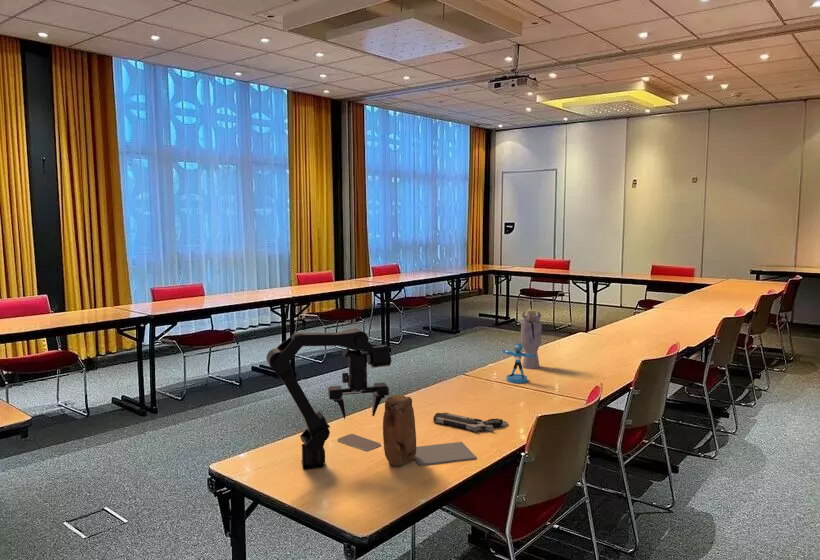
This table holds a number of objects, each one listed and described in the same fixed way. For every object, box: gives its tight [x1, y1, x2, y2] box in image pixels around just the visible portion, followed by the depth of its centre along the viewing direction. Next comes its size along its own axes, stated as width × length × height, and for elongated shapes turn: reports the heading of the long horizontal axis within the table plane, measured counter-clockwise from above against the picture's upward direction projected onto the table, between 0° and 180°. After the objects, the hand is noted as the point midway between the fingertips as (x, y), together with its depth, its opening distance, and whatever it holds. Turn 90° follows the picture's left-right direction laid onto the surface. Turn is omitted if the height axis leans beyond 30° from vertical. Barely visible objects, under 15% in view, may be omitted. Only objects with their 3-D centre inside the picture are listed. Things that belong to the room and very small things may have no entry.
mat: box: [413, 441, 478, 467], centre depth 190 cm, size 19×14×1 cm
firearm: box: [432, 412, 509, 433], centre depth 219 cm, size 3×24×15 cm
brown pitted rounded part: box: [382, 394, 417, 467], centre depth 184 cm, size 11×8×20 cm
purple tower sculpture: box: [520, 309, 543, 370], centre depth 303 cm, size 10×10×30 cm
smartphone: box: [337, 433, 382, 452], centre depth 201 cm, size 7×1×15 cm
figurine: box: [501, 342, 536, 384], centre depth 277 cm, size 18×10×18 cm, turn 52°
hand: (358, 417), depth 187 cm, fingers open, 9 cm apart
